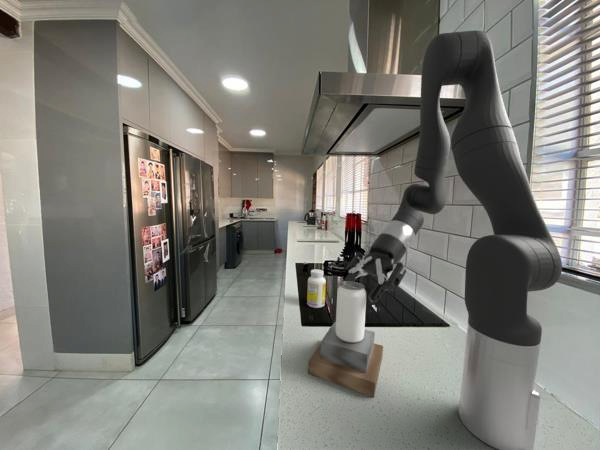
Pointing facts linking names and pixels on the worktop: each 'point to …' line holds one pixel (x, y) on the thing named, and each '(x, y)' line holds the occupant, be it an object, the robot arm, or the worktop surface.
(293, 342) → the worktop surface
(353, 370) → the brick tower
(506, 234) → the robot arm
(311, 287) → the supplement bottle
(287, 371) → the worktop surface
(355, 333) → the can
